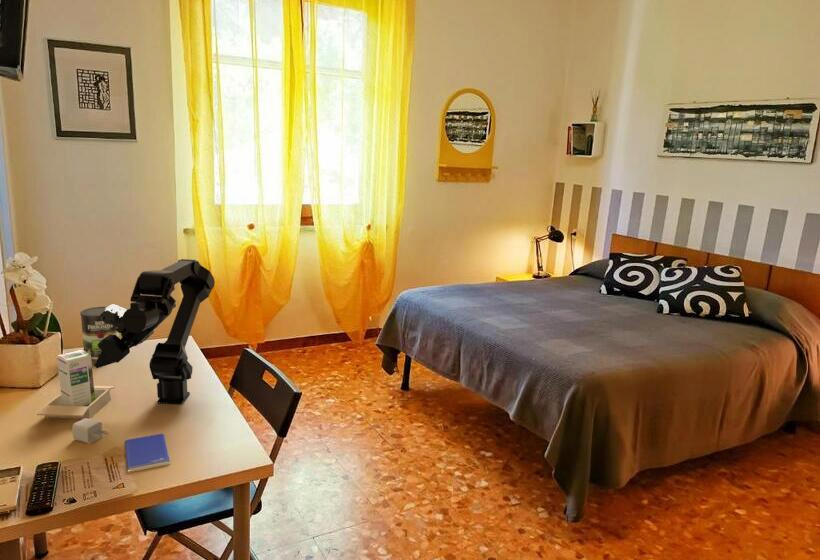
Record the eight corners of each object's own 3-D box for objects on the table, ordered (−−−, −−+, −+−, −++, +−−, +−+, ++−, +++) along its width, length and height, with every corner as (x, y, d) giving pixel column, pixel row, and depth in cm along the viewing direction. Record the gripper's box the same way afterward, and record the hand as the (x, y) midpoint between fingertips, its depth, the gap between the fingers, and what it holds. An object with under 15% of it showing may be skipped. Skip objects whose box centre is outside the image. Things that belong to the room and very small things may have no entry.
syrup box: (72, 415, 138) (66, 360, 135) (61, 408, 142) (56, 354, 138) (96, 408, 143) (91, 354, 139) (85, 401, 146) (80, 348, 143)
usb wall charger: (88, 432, 131) (87, 417, 130) (111, 439, 129) (110, 423, 128) (73, 440, 128) (71, 424, 127) (97, 447, 125) (95, 431, 125)
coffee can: (121, 357, 176) (118, 314, 172) (83, 361, 171) (79, 317, 168) (120, 346, 184) (117, 305, 181) (84, 350, 180) (80, 307, 176)
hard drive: (169, 459, 120) (163, 432, 131) (127, 467, 116) (124, 439, 127) (170, 466, 121) (164, 439, 131) (127, 474, 117) (125, 446, 127)
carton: (115, 394, 151) (115, 383, 150) (83, 424, 135) (82, 412, 134) (75, 393, 150) (74, 382, 149) (37, 423, 134) (36, 410, 133)
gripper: (138, 285, 145) (98, 324, 147) (103, 306, 127) (57, 350, 129) (171, 316, 147) (131, 354, 149) (141, 340, 129) (95, 383, 131)
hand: (104, 359), depth 140 cm, fingers open, 9 cm apart
